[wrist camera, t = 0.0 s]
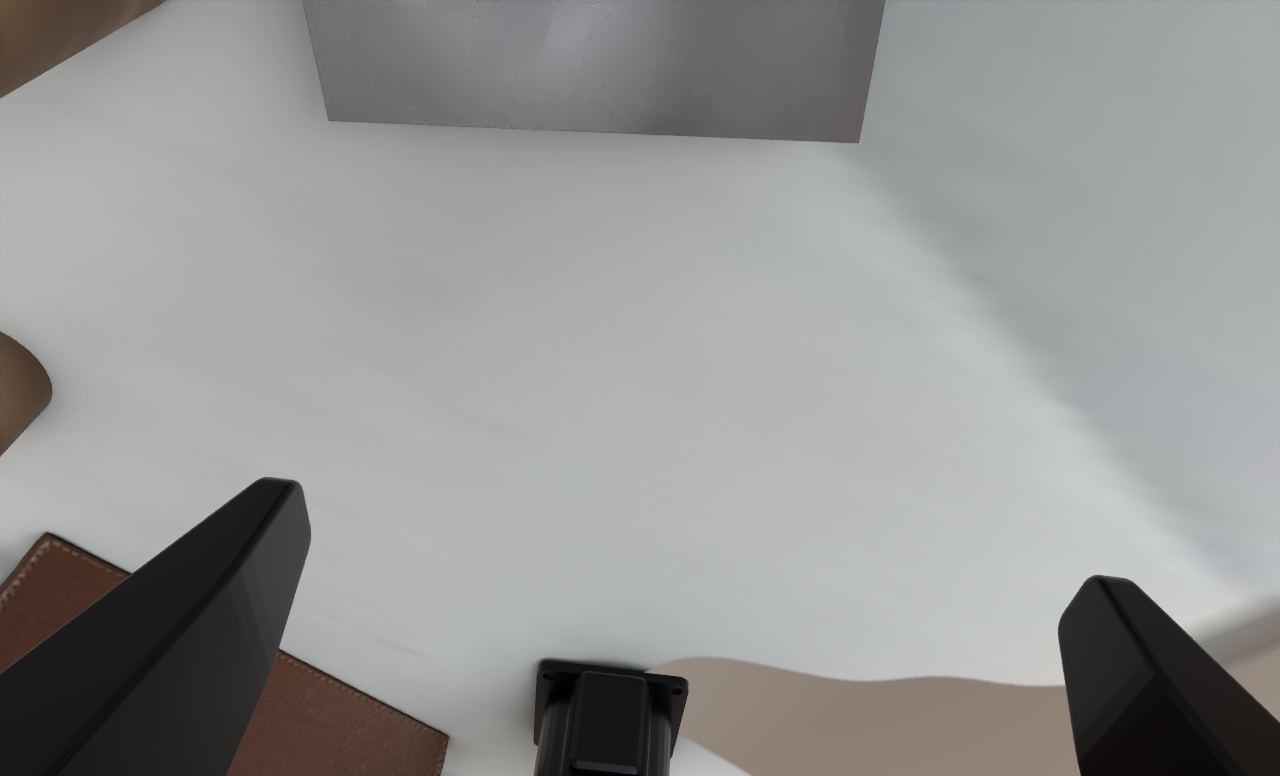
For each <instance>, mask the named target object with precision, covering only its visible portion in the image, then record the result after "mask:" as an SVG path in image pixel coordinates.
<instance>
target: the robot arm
mask: <svg viewBox="0 0 1280 776" xmlns="http://www.w3.org/2000/svg"><path fill="white" fill-rule="evenodd" d="M310 541H311V527H310V522H309V517H308V512H307V507H306V502H305V497H304V493H303V489H302V486H301V485H300V483H299V482H297V481H295V480H289V479H281V478H272V477H264V478H261V479H259V480H257V481H255V482H254V483H252V484H251V485H250V486H248V487H247V488H246V489H244V490H243V491H242V492H240V493H239V494H238V495H236V496H235V497H234V498H232V499H231V500H230V501H228V502H227V503H226V504H224V505H223V506H222V507H220V508H219V509H218V510H216V511H215V512H214V513H212V514H211V515H210V516H208V517H207V518H206V519H204V520H203V521H202V522H200V523H199V524H198V525H196V526H195V527H194V528H192V529H191V530H190V531H188V532H187V533H186V534H184V535H183V536H182V537H180V538H179V539H178V540H176V541H175V542H174V543H172V544H171V545H170V546H168V547H167V548H166V549H164V550H163V551H162V552H160V553H159V554H158V555H156V556H155V557H154V558H152V559H151V560H150V561H148V562H147V563H146V564H144V565H143V566H142V567H140V568H139V569H138V570H136V571H135V572H134V573H132V574H131V575H130V576H128V577H127V578H126V579H124V580H123V581H122V582H120V583H119V584H118V585H116V586H115V587H114V588H112V589H111V590H110V591H108V592H107V593H106V594H104V595H103V596H102V597H100V598H99V599H98V600H96V601H95V602H94V603H92V604H91V605H90V606H88V607H87V608H86V609H84V610H83V611H82V612H80V613H79V614H78V615H76V616H75V617H74V618H72V619H71V620H70V621H68V622H67V623H66V624H64V625H63V626H62V627H60V628H59V629H58V630H56V631H55V632H54V633H52V634H51V635H50V636H48V637H47V638H46V639H44V640H43V641H42V642H40V643H39V644H38V645H36V646H35V647H34V648H32V649H31V650H30V651H28V652H27V653H26V654H24V655H23V656H22V657H20V658H19V659H18V660H16V661H15V662H14V663H12V664H11V665H10V666H9V667H7V668H6V669H5V670H3V671H2V672H1V673H0V776H226V775H227V773H228V770H229V768H230V766H231V763H232V761H233V759H234V757H235V754H236V752H237V750H238V747H239V745H240V743H241V741H242V738H243V736H244V734H245V731H246V729H247V727H248V724H249V722H250V720H251V718H252V715H253V713H254V711H255V708H256V706H257V704H258V702H259V699H260V697H261V695H262V692H263V690H264V688H265V685H266V683H267V680H268V678H269V675H270V673H271V670H272V667H273V664H274V661H275V658H276V655H277V652H278V649H279V645H280V642H281V639H282V636H283V632H284V629H285V626H286V622H287V619H288V616H289V613H290V609H291V606H292V603H293V599H294V596H295V593H296V590H297V586H298V583H299V580H300V577H301V573H302V570H303V567H304V563H305V560H306V557H307V554H308V550H309V546H310ZM1058 639H1059V645H1060V652H1061V659H1062V665H1063V672H1064V678H1065V685H1066V692H1067V698H1068V705H1069V712H1070V718H1071V725H1072V731H1073V738H1074V744H1075V749H1076V755H1077V760H1078V765H1079V769H1080V773H1081V776H1280V722H1279V721H1278V720H1277V719H1276V718H1275V717H1274V716H1273V715H1271V714H1270V713H1269V711H1268V710H1266V709H1265V708H1264V707H1263V706H1262V705H1261V704H1260V703H1259V702H1258V701H1257V700H1256V699H1255V698H1254V697H1253V696H1252V695H1251V694H1250V693H1249V692H1248V691H1246V689H1245V688H1244V687H1243V686H1241V685H1240V684H1239V683H1238V682H1237V681H1236V680H1235V679H1234V678H1233V677H1232V676H1231V675H1230V674H1229V673H1228V672H1227V671H1226V670H1225V669H1224V668H1223V667H1222V666H1221V665H1220V664H1219V663H1218V662H1216V661H1215V660H1214V659H1213V658H1212V657H1211V656H1210V655H1209V654H1208V653H1207V652H1206V651H1205V650H1204V649H1203V648H1202V647H1201V646H1200V645H1199V644H1198V643H1197V642H1196V641H1195V640H1194V639H1193V638H1191V637H1190V636H1189V635H1188V634H1187V633H1186V632H1185V631H1184V630H1183V629H1182V628H1181V627H1180V626H1179V625H1178V624H1177V623H1176V622H1175V621H1174V620H1173V619H1172V618H1171V617H1170V616H1169V615H1168V614H1166V613H1165V612H1164V611H1163V610H1162V609H1161V608H1160V607H1159V606H1158V605H1157V604H1156V603H1155V602H1154V601H1153V600H1152V599H1151V598H1150V597H1149V596H1148V595H1147V594H1146V593H1145V592H1144V591H1143V590H1141V589H1140V588H1139V587H1138V586H1137V585H1136V584H1135V583H1134V582H1132V581H1130V580H1128V579H1125V578H1119V577H1111V576H1103V575H1093V576H1091V577H1090V578H1088V579H1087V580H1086V581H1085V582H1084V584H1083V585H1082V586H1081V588H1080V589H1079V591H1078V592H1077V594H1076V595H1075V597H1074V598H1073V600H1072V601H1071V602H1070V604H1069V605H1068V607H1067V608H1066V610H1065V611H1064V613H1063V614H1062V616H1061V619H1060V622H1059V627H1058ZM687 696H688V681H687V680H686V679H684V678H682V677H677V676H669V675H660V674H651V673H643V672H634V671H625V670H617V669H608V668H599V667H591V666H582V665H573V664H565V663H556V662H543V663H541V664H540V665H539V667H538V672H537V684H536V703H535V722H534V744H535V745H537V746H538V752H537V758H536V764H535V770H534V776H669V767H670V759H671V757H672V754H673V751H674V747H675V743H676V739H677V735H678V731H679V727H680V723H681V719H682V715H683V712H684V708H685V704H686V700H687Z"/></svg>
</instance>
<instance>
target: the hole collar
mask: <svg viewBox="0 0 1280 776" xmlns="http://www.w3.org/2000/svg"><path fill="white" fill-rule="evenodd" d="M303 4H304V9H305V13H306V18H307V22H308V27H309V32H310V36H311V41H312V46H313V50H314V55H315V60H316V64H317V69H318V73H319V78H320V83H321V87H322V92H323V97H324V101H325V106H326V110H327V115H328V120H329V121H345V122H369V123H392V124H416V125H440V126H463V127H487V128H511V129H534V130H558V131H582V132H605V133H629V134H653V135H676V136H700V137H724V138H747V139H771V140H795V141H818V142H842V143H859V139H860V134H861V128H862V123H863V118H864V112H865V107H866V102H867V96H868V91H869V85H870V80H871V75H872V69H873V64H874V58H875V53H876V48H877V42H878V37H879V31H880V26H881V21H882V15H883V10H884V5H885V0H303Z"/></svg>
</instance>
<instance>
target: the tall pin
mask: <svg viewBox="0 0 1280 776" xmlns="http://www.w3.org/2000/svg"><path fill="white" fill-rule="evenodd" d="M164 1H166V0H0V98H2V97H4V96H5V95H7V94H9V93H10V92H12V91H14V90H15V89H17V88H19V87H21V86H22V85H24V84H26V83H27V82H29V81H31V80H32V79H34V78H36V77H38V76H39V75H41V74H43V73H44V72H46V71H48V70H49V69H51V68H53V67H55V66H56V65H58V64H60V63H61V62H63V61H65V60H66V59H68V58H70V57H72V56H73V55H75V54H77V53H78V52H80V51H82V50H83V49H85V48H87V47H89V46H90V45H92V44H94V43H95V42H97V41H99V40H100V39H102V38H104V37H106V36H107V35H109V34H111V33H112V32H114V31H116V30H117V29H119V28H121V27H122V26H124V25H126V24H128V23H129V22H131V21H133V20H134V19H136V18H138V17H139V16H141V15H143V14H145V13H146V12H148V11H150V10H151V9H153V8H155V7H156V6H158V5H160V4H161V3H163V2H164Z"/></svg>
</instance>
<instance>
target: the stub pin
mask: <svg viewBox="0 0 1280 776" xmlns="http://www.w3.org/2000/svg"><path fill="white" fill-rule="evenodd" d="M51 397H52V385H51V381H50V378H49V376H48V374H47V372H46V370H45V369H44V367H43V366H42V364H41V363H40V362H39V361H38V360H37V358H36V357H35V356H34V355H33V354H32V353H31V352H30V351H28V350H27V349H26V348H25V347H24V346H22V345H21V344H20V343H18V342H17V341H15V340H14V339H12V338H11V337H9V336H7V335H5V334H3V333H2V332H0V457H1V455H2V454H3V453H4V452H5V451H6V450H7V449H8V448H9V447H10V446H11V444H12V443H13V442H14V441H15V440H16V439H17V438H18V437H19V436H20V435H21V434H22V432H23V431H24V430H25V429H26V428H27V427H28V426H29V425H30V424H31V423H32V422H33V420H34V419H35V418H36V417H37V416H38V415H39V414H40V413H41V412H42V411H43V410H44V408H45V407H46V406H47V405H48V404H49V402H50V400H51Z"/></svg>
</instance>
